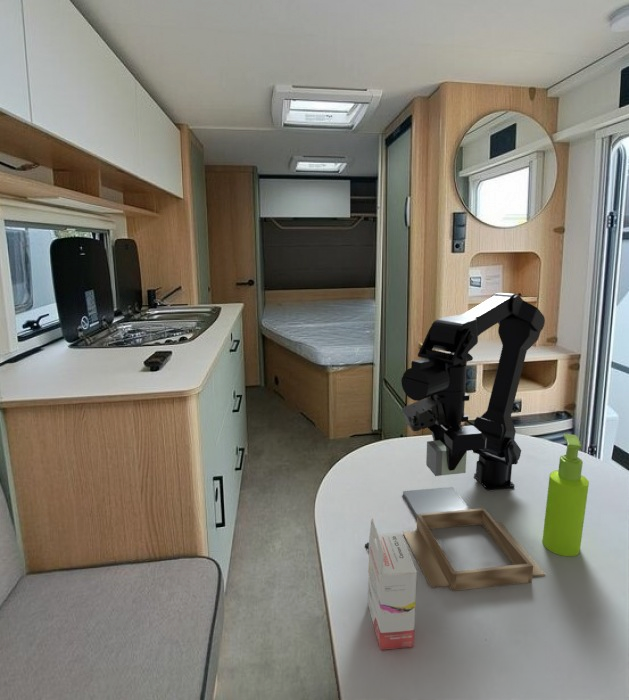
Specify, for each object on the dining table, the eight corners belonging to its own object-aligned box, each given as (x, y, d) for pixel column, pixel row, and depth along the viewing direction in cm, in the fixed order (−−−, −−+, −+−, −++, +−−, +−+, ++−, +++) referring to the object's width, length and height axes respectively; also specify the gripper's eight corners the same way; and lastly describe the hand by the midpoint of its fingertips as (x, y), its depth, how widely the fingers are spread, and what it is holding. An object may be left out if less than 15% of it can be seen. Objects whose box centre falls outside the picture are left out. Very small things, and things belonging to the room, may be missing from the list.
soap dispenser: (575, 535, 85) (588, 433, 80) (582, 559, 79) (597, 450, 74) (539, 529, 87) (550, 429, 82) (544, 552, 80) (556, 445, 76)
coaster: (452, 490, 101) (452, 486, 100) (473, 516, 91) (473, 513, 91) (403, 494, 99) (403, 491, 99) (418, 521, 90) (419, 518, 90)
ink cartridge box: (416, 648, 62) (419, 552, 59) (379, 651, 62) (381, 555, 58) (399, 600, 71) (401, 513, 67) (366, 602, 70) (367, 515, 67)
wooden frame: (497, 520, 90) (499, 506, 89) (549, 580, 74) (551, 563, 73) (401, 529, 87) (401, 515, 87) (433, 593, 72) (434, 576, 71)
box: (454, 461, 93) (456, 438, 91) (465, 472, 88) (466, 448, 87) (426, 464, 92) (427, 441, 91) (435, 476, 87) (436, 451, 86)
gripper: (391, 375, 94) (390, 446, 98) (427, 408, 76) (424, 494, 80) (443, 371, 95) (441, 441, 99) (490, 403, 78) (485, 487, 81)
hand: (445, 463), depth 90 cm, fingers closed on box, 4 cm apart
